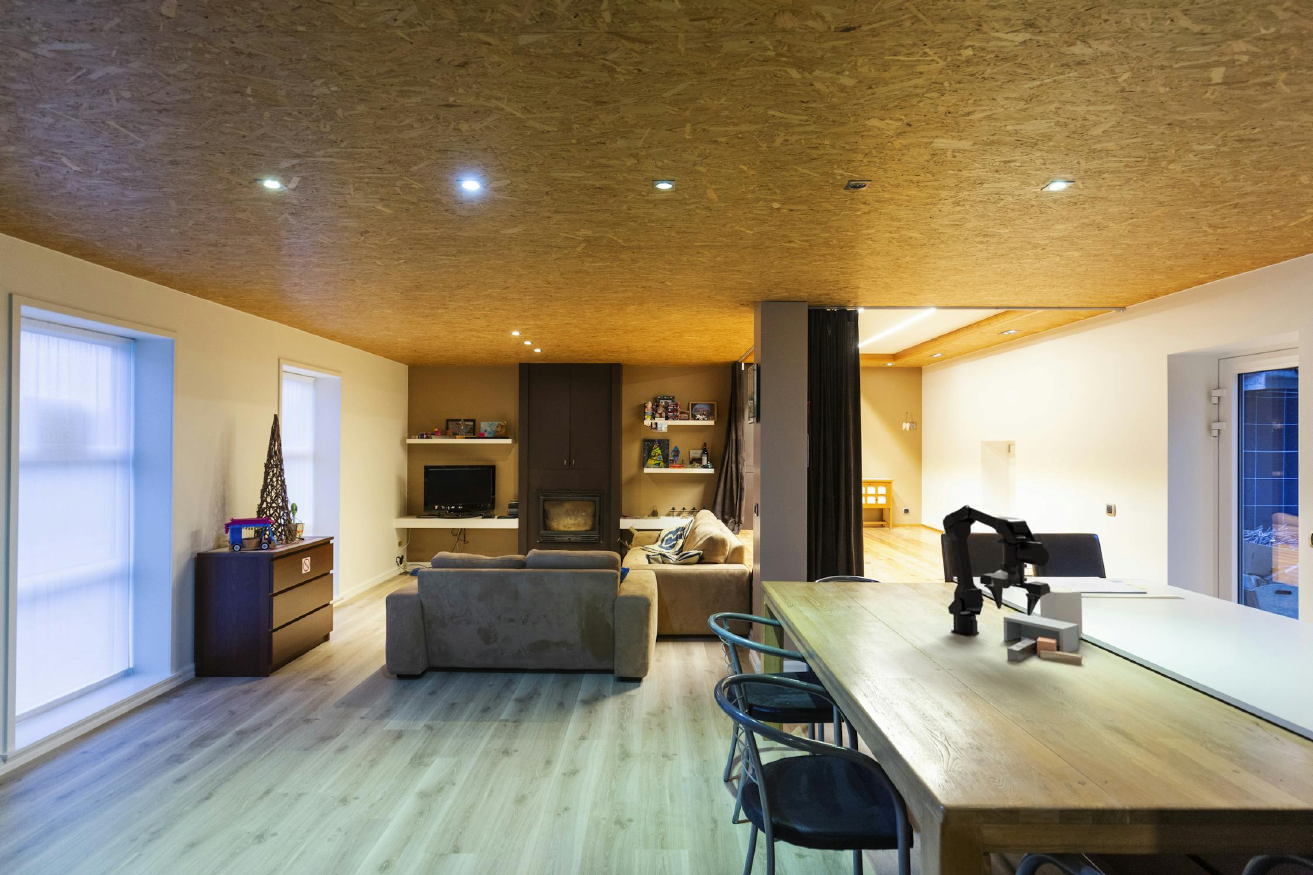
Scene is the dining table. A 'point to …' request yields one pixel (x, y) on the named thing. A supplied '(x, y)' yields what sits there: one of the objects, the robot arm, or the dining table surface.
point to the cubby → (1042, 630)
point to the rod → (1061, 656)
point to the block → (1045, 644)
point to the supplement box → (1062, 606)
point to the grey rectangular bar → (1022, 649)
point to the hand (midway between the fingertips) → (1013, 611)
